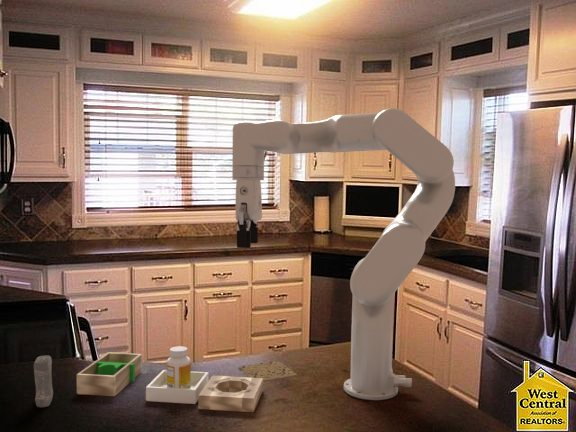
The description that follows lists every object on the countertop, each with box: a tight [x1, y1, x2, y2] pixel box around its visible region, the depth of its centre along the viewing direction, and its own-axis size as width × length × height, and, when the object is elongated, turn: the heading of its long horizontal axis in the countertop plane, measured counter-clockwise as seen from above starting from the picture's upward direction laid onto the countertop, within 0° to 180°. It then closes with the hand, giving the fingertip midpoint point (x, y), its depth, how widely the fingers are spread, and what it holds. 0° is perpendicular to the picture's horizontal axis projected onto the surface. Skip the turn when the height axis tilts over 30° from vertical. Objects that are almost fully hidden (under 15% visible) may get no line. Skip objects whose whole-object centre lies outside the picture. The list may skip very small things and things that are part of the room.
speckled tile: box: [237, 360, 298, 382], centre depth 143 cm, size 12×12×1 cm
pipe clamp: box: [92, 360, 136, 383], centre depth 134 cm, size 10×4×4 cm, turn 81°
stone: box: [33, 354, 54, 408], centre depth 121 cm, size 3×6×10 cm, turn 13°
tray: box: [145, 369, 210, 405], centre depth 128 cm, size 11×11×3 cm
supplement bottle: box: [166, 345, 192, 389], centre depth 128 cm, size 5×5×10 cm
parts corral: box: [76, 351, 143, 397], centre depth 134 cm, size 9×16×4 cm, turn 173°
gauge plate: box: [197, 375, 264, 413], centre depth 124 cm, size 12×12×3 cm
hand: (247, 245), depth 134 cm, fingers open, 9 cm apart
